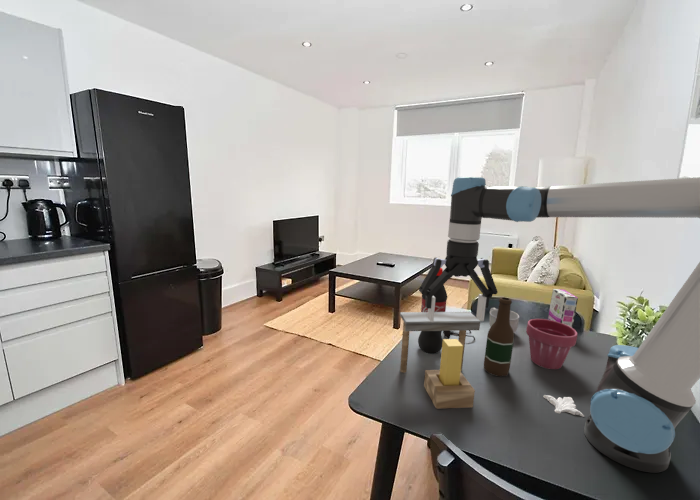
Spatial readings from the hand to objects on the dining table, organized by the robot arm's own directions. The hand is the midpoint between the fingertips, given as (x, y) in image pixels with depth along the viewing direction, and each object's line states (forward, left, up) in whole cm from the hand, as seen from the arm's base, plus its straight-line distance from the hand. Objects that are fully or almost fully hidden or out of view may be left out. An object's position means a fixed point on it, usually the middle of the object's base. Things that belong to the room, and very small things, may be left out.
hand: (455, 319), depth 88 cm
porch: (+4, 0, -22) cm, 23 cm away
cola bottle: (+26, -4, -23) cm, 35 cm away
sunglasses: (+37, -19, -23) cm, 48 cm away
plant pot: (+16, -41, -23) cm, 50 cm away
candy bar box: (+40, -64, -23) cm, 79 cm away
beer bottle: (+12, -21, -23) cm, 33 cm away
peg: (0, 0, -23) cm, 23 cm away
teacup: (+41, -39, -23) cm, 61 cm away
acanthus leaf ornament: (-6, -30, -23) cm, 38 cm away
